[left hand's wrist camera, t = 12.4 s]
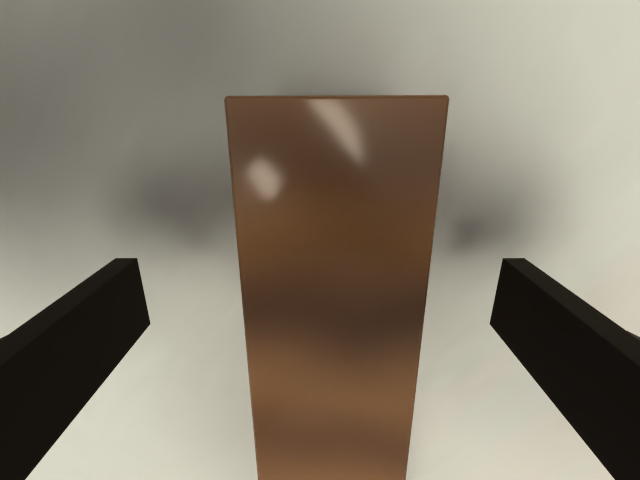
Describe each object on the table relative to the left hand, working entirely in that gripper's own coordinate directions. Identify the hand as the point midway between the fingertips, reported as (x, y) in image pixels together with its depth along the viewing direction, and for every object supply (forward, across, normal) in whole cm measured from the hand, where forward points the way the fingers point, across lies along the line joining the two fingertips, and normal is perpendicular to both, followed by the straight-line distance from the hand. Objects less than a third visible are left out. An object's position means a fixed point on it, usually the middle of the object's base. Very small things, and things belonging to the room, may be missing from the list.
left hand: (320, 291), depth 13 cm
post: (+5, +1, -33) cm, 33 cm away
